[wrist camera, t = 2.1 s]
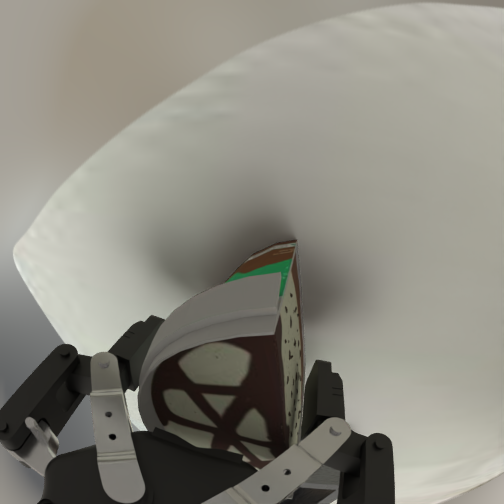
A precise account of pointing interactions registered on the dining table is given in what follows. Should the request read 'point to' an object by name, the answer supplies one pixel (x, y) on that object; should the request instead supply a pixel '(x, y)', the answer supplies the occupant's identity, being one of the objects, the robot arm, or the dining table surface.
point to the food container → (233, 362)
